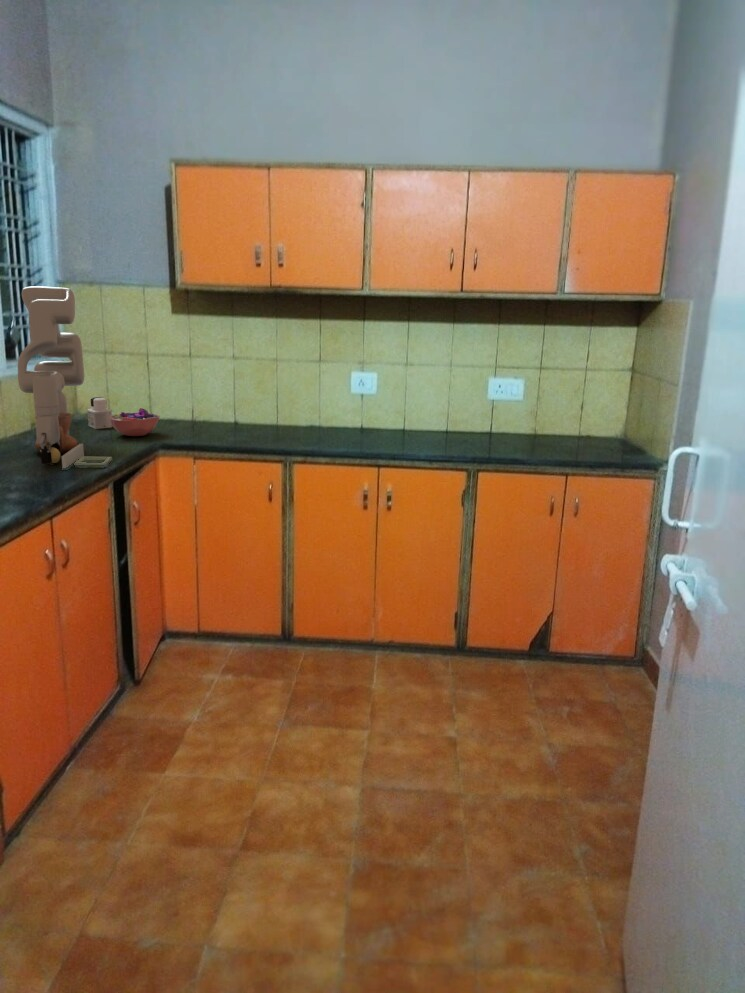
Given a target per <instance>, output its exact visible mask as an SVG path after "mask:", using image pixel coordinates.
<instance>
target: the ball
mask: <svg viewBox="0 0 745 993" xmlns="http://www.w3.org/2000/svg"><path fill="white" fill-rule="evenodd" d="M50 452H51V457H52V463H56V464H57V463H59V461H60V460H61V459H62V457H61V456H62V453H61V454H60V452H59V450H58V449H56V448H54V447H50Z"/></svg>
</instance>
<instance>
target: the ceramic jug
mask: <svg viewBox="0 0 745 993" xmlns="http://www.w3.org/2000/svg"><path fill="white" fill-rule="evenodd" d="M59 413H60V415H59V416H58V420H59V428H60V441H59V442H60V450H61V454H66V453H67V452H69V451H70V450H71V449H73V448H74V447H76V446H77V445H78V440H77V439H76V438H74V436H71V435H70V433H69V434H68V431H69V432H70V429H71V428H70V427H71V423H72V419H73V417H72V413H70V412H67V413H64V412H59ZM36 418H37V416H35V419H36ZM34 447H35V449H36V450H37V451H39V452H40V445H38V444H37V440H36V441H35V442H34ZM46 447H47V448H48V446H46Z"/></svg>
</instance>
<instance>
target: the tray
mask: <svg viewBox="0 0 745 993" xmlns="http://www.w3.org/2000/svg"><path fill="white" fill-rule="evenodd" d="M84 460H105V461H104V462H102V463H86V462H82V461H84ZM111 460H112V461H113V457H112V456H89V455H86V456H85V455H84V456H83V457H81V458H80V459H79V460H77V461H76V462H75V463H74V465H106V464H107V463H108V462H109V461H111ZM74 465H73V466H74Z"/></svg>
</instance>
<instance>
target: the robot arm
mask: <svg viewBox="0 0 745 993" xmlns="http://www.w3.org/2000/svg"><path fill="white" fill-rule="evenodd" d="M21 298H22V302H23V304H24V306H25V307H26V309H27V311H28V322H29V337H30V340H29V344H27V345H26V346H25V347H24V348H23V350H22V351H21V352H20V355H19V357H18V361H17V380H18V382H17V383H18V388H19V389H20V391H21V392H23V393H26V394H32V395H33V402H34V404H33V405H34V415H35V420H36V422H35V424H36V425H35V428H36V429H35V434H36V441H37V444H38V445H40V451H39V452H40V459H41V464H43V465H52V464H51V463H52V457H51V452H50V447H54V448H56V449H58V450H59V452H60V454H61V455H62V453H61V450H60V442H59V441H60V428H59V420H58V416H59V415H60V413H59V412H64V413H68V406H67V405H68V404H67V396H66V395H65V393H64V392H63V389H64V388H65V387H78V386H82V385H83V384H84V382H85V368H84V356H83V347H82V341H81V337H80V336H79V335H78V334H77V333H75V332H61V331H60V326H59V325H72V324H73V323H74V321H75V315H76V298H75V294H74V291H73V290H72V289H70V288H68V287H59V286H57V287H55V286H43V285H42V286H38V285H37V286H35V285H34V286H26V287H24V288H22V290H21ZM37 355H38V356H40V357H42V358H47V359H48V358H50V359H53V358H55V359H68V360H69V361H68V360H43V361H39V362H37V363H36V364H35V365H34V369H33V370H27V369H28V368H27V366H28V363H29V362H30V360H31V359H32V358H34V357H36V356H37ZM36 416H37V418H36ZM68 434H69V435H70V430H69V431H68ZM46 446H48V448H47V447H46Z"/></svg>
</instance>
